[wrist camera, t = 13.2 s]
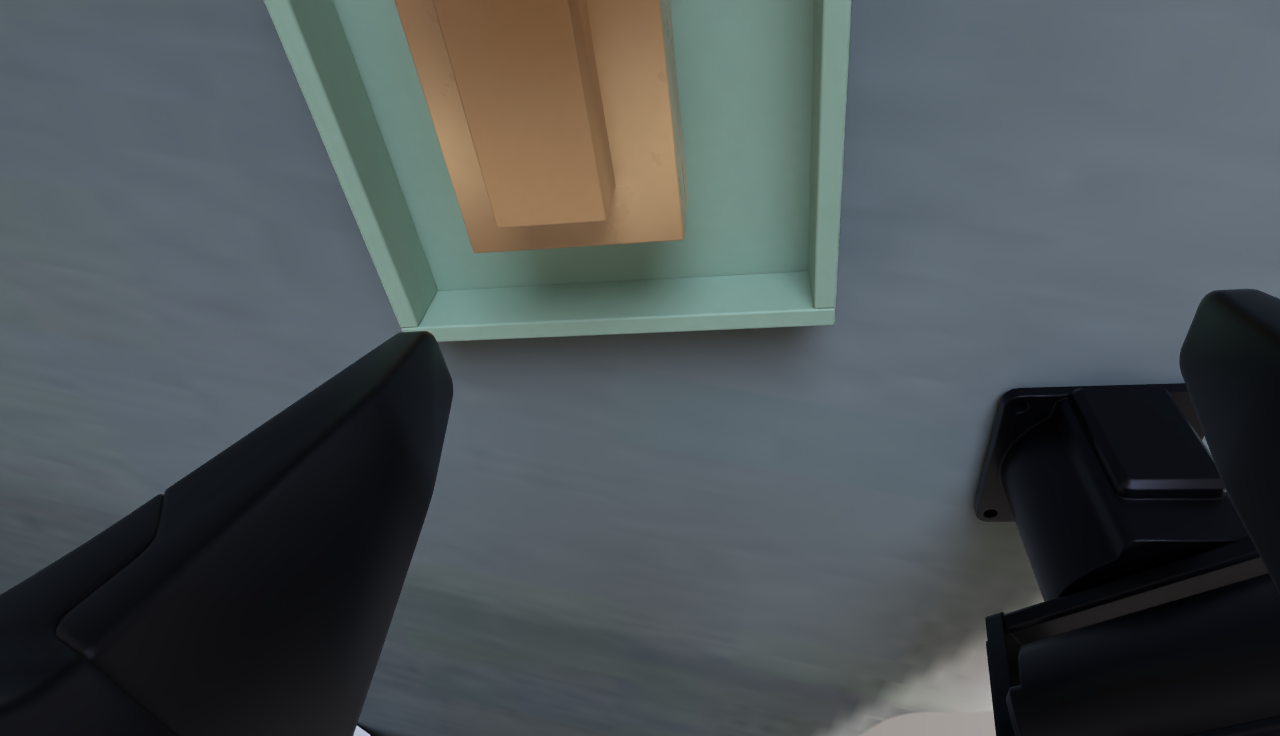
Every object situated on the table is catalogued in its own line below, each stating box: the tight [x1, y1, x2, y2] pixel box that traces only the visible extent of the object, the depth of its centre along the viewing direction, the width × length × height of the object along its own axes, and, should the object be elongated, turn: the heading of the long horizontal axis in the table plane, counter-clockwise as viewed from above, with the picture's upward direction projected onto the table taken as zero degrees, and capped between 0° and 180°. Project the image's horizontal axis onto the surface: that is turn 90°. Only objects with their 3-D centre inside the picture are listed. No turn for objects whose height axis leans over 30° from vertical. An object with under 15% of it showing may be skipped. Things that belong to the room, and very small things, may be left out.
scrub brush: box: [394, 0, 688, 253], centre depth 15 cm, size 10×5×5 cm, turn 7°
